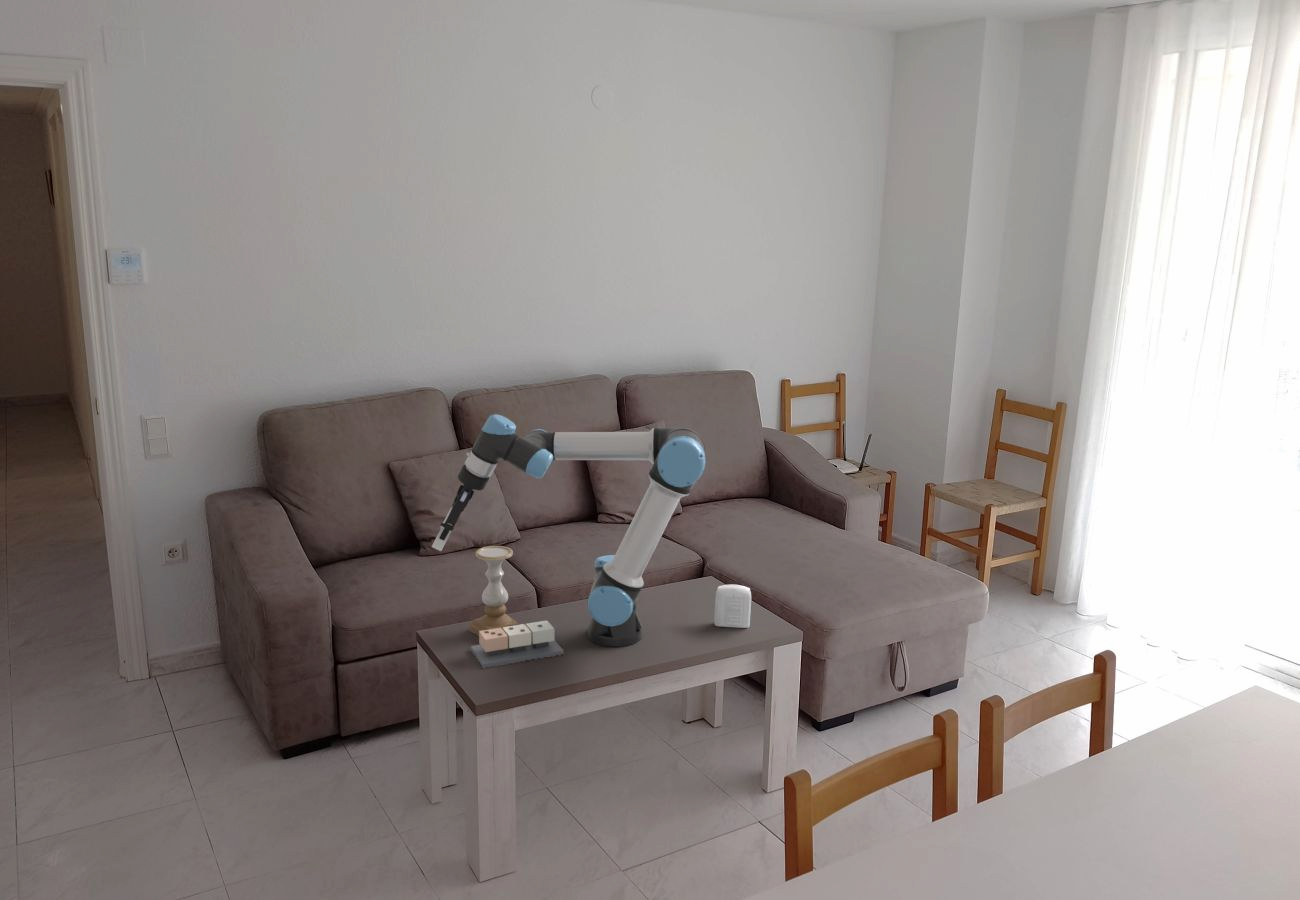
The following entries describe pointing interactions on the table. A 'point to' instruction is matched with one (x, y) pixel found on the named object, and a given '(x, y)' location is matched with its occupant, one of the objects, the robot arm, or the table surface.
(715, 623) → the photo printer
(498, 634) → the three pip key
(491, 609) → the candle holder
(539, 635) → the one pip key
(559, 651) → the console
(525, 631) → the two pip key
